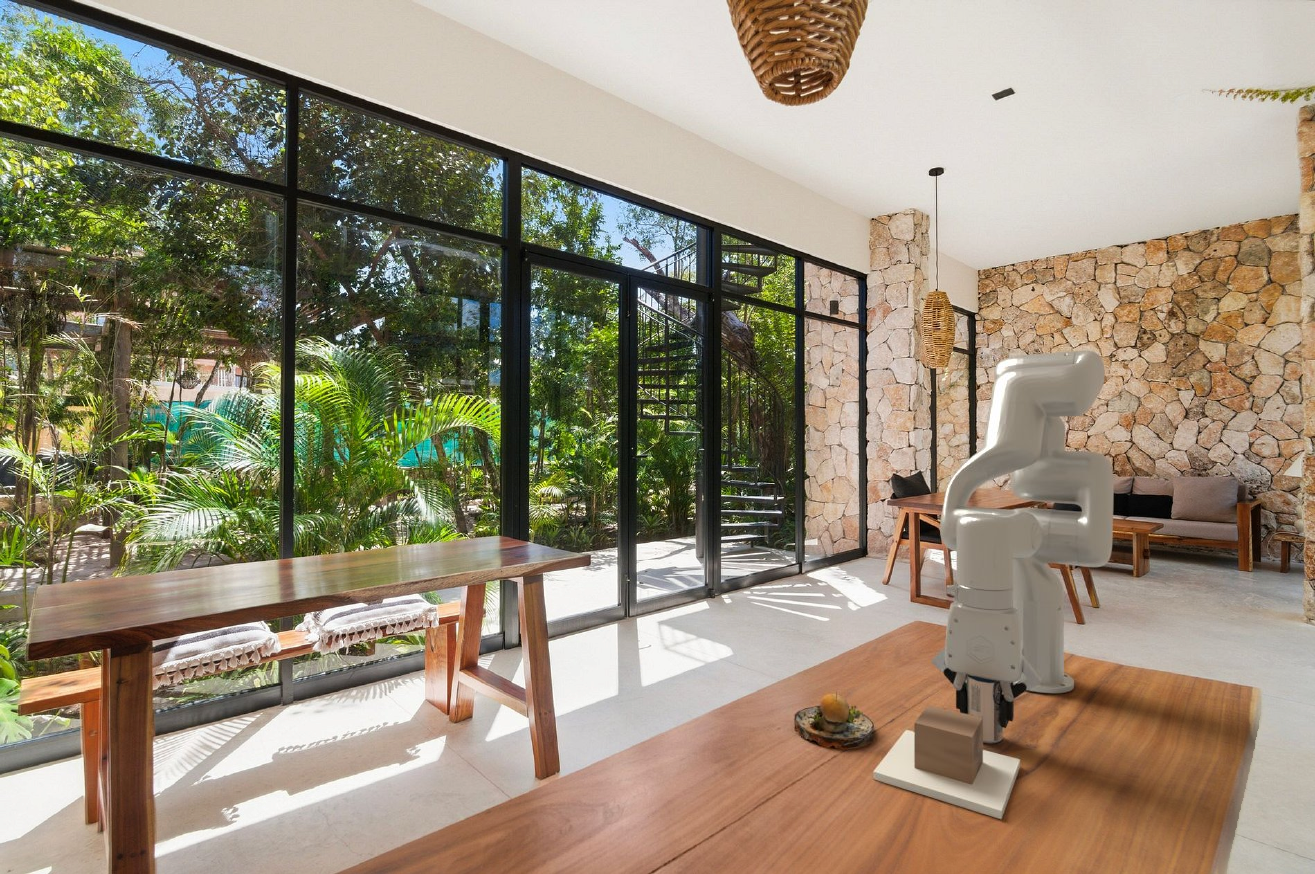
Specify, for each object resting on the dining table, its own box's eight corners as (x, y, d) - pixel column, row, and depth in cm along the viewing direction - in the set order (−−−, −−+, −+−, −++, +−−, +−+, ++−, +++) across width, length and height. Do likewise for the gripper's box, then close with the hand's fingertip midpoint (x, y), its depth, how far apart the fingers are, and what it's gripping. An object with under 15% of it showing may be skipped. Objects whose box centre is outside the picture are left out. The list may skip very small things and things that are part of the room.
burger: (879, 724, 102) (879, 676, 102) (869, 757, 91) (869, 704, 91) (802, 710, 107) (802, 665, 107) (785, 740, 96) (785, 690, 96)
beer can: (1007, 746, 94) (1007, 663, 94) (971, 743, 94) (971, 661, 94) (996, 732, 98) (996, 653, 98) (962, 729, 99) (962, 651, 99)
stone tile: (906, 736, 97) (906, 729, 97) (1019, 766, 88) (1020, 759, 88) (873, 779, 85) (873, 771, 85) (1001, 819, 76) (1001, 810, 76)
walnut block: (928, 747, 91) (928, 704, 91) (982, 762, 87) (982, 717, 87) (914, 767, 86) (914, 722, 86) (972, 784, 81) (972, 737, 81)
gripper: (918, 594, 98) (918, 713, 98) (1047, 612, 88) (1047, 745, 88) (930, 585, 104) (930, 697, 104) (1053, 600, 94) (1053, 725, 94)
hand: (984, 718), depth 96 cm, fingers closed on beer can, 4 cm apart
